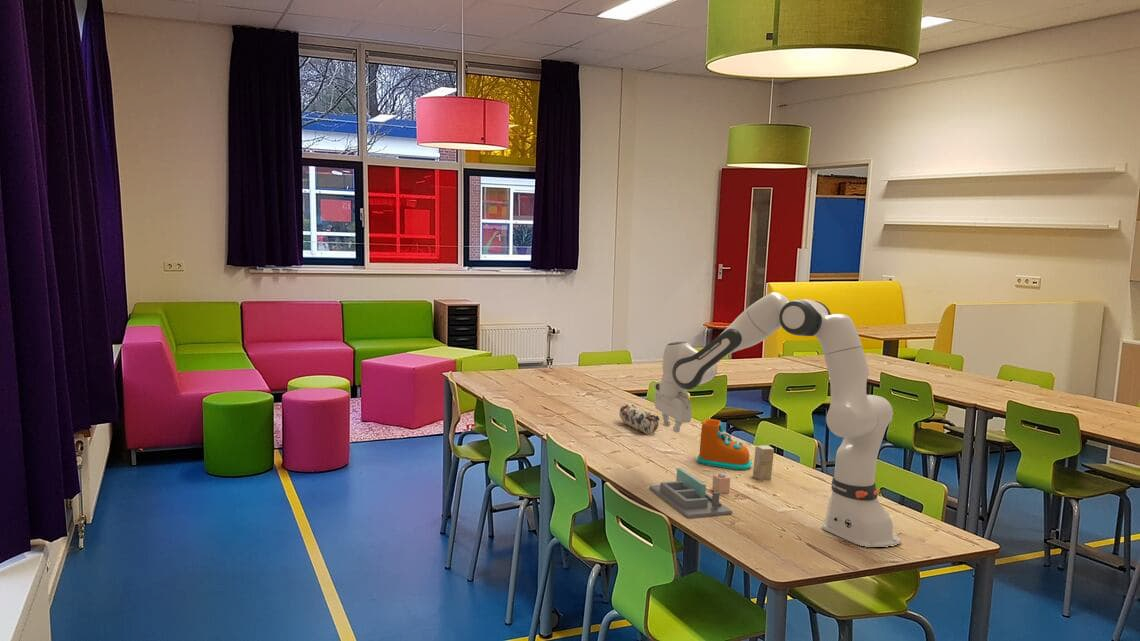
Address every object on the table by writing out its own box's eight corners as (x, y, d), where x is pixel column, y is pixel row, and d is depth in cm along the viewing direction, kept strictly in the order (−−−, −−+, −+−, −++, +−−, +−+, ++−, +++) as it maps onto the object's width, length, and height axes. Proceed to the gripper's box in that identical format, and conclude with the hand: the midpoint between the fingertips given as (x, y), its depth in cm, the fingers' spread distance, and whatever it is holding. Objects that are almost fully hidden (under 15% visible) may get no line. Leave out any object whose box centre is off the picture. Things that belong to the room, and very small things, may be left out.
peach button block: (729, 492, 255) (730, 475, 254) (718, 493, 253) (719, 476, 253) (722, 488, 258) (724, 471, 258) (712, 489, 257) (713, 472, 256)
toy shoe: (748, 472, 277) (752, 431, 275) (694, 464, 284) (697, 424, 282) (753, 463, 288) (756, 423, 286) (700, 455, 295) (703, 416, 293)
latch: (705, 498, 244) (706, 484, 243) (701, 498, 244) (702, 485, 243) (679, 480, 260) (680, 467, 259) (676, 480, 259) (677, 468, 259)
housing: (731, 514, 236) (733, 495, 235) (687, 518, 230) (689, 499, 230) (690, 485, 260) (691, 468, 259) (649, 488, 255) (650, 471, 254)
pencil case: (659, 434, 321) (661, 411, 320) (642, 436, 318) (643, 412, 317) (633, 421, 341) (635, 399, 340) (616, 422, 337) (618, 400, 336)
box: (758, 480, 269) (761, 448, 268) (752, 475, 273) (754, 445, 272) (771, 479, 270) (774, 448, 269) (765, 475, 275) (768, 444, 273)
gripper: (697, 395, 254) (694, 436, 256) (668, 382, 273) (666, 421, 275) (680, 396, 252) (677, 437, 253) (652, 382, 271) (649, 421, 272)
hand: (671, 429), depth 264 cm, fingers open, 6 cm apart
